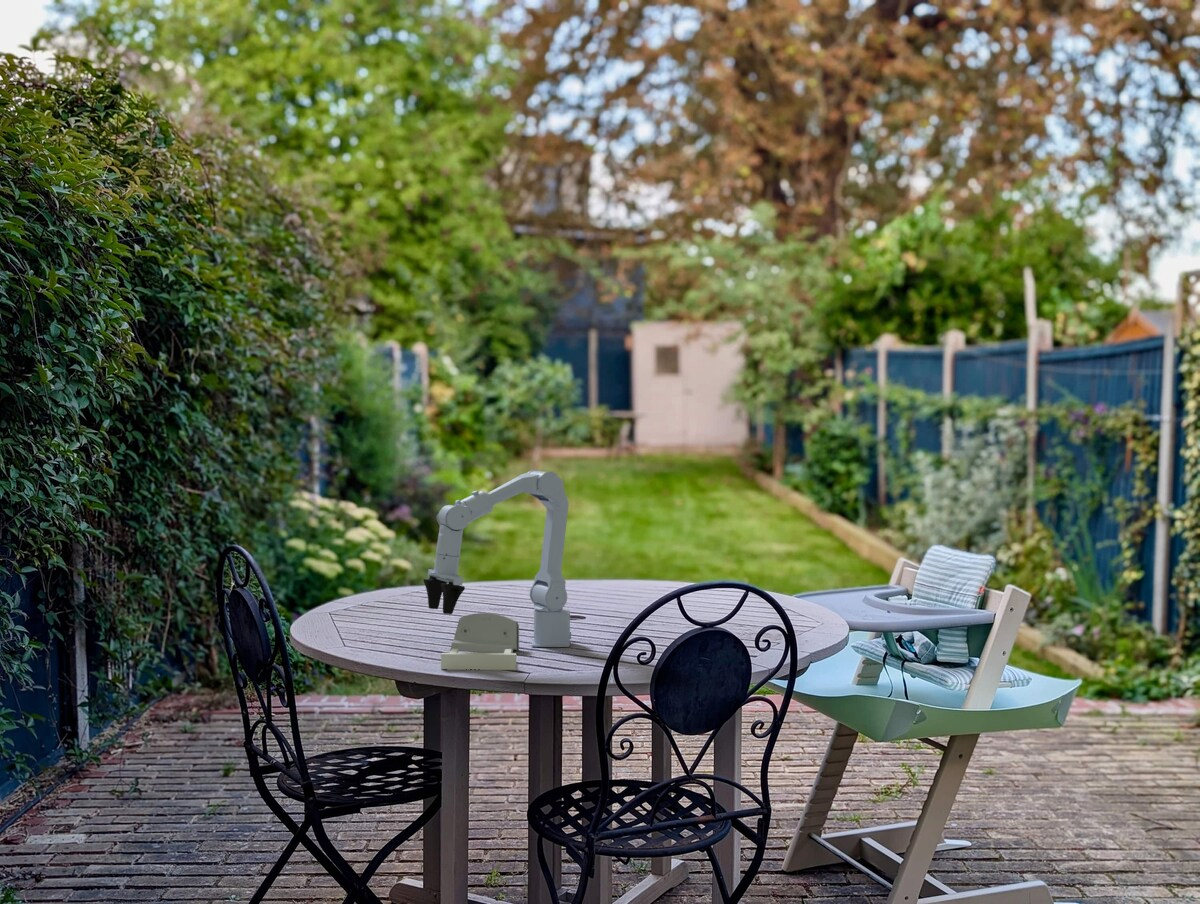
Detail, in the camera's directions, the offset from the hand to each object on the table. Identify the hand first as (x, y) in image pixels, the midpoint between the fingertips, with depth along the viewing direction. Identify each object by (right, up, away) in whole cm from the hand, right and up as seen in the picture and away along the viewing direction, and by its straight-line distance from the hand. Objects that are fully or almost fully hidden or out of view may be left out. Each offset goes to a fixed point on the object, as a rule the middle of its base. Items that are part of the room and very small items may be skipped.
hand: (440, 611), depth 271 cm
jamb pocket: (+11, -11, -9) cm, 18 cm away
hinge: (+10, -11, +9) cm, 17 cm away
